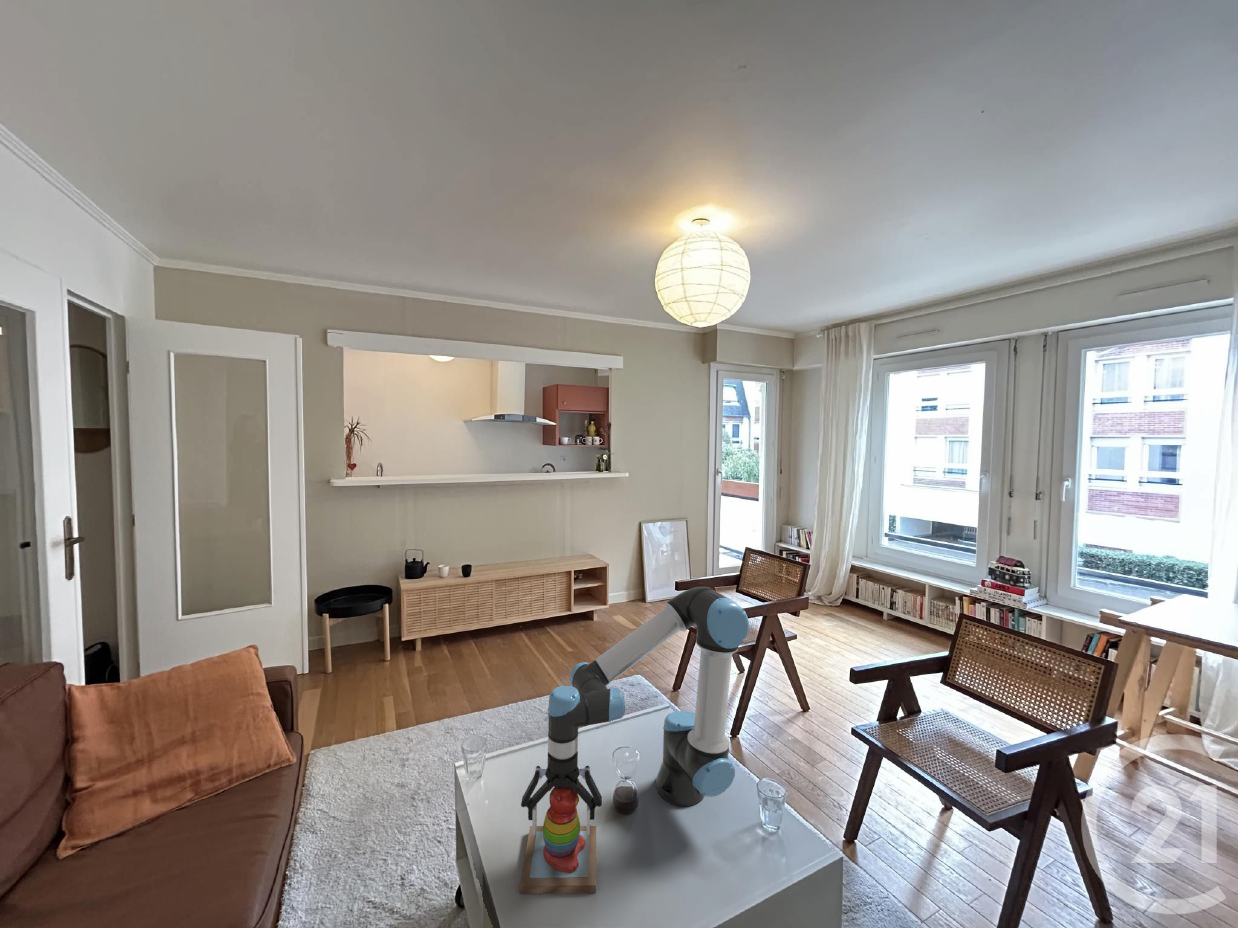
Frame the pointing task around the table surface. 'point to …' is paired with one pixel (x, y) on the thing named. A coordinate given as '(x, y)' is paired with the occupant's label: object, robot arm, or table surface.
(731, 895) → the table surface
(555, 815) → the stacking bear
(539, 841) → the base board
